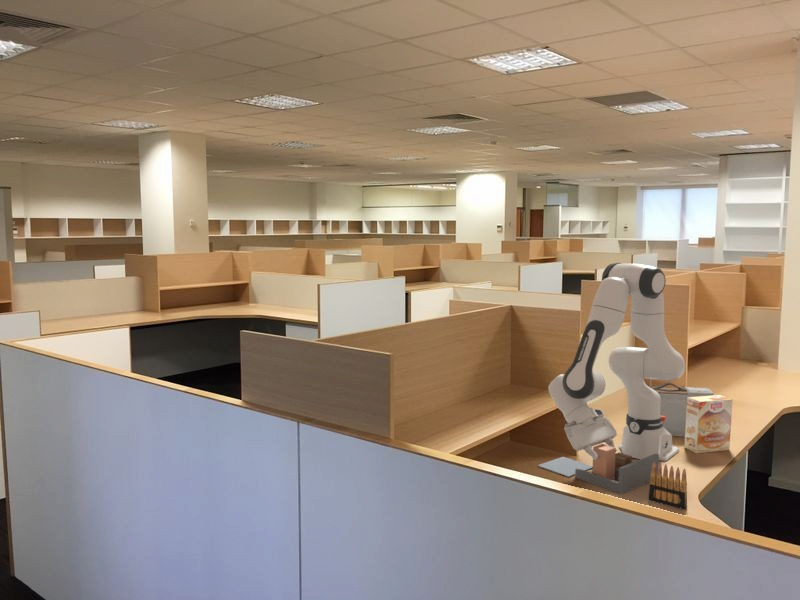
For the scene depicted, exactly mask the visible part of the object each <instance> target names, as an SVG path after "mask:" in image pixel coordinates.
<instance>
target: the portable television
mask: <svg viewBox="0 0 800 600" xmlns="http://www.w3.org/2000/svg"><path fill="white" fill-rule="evenodd" d="M649 380H650V381H649V383H650V384H649V387H650V388H652V389H654V390H655V391H656V392H657V393H658V394H659V395H660V397H661V411H660V416H661V415H662V416H666V418H667V419H666V421H665V422H664V421H662V424H663V427H664V428H665V429H666V430H667V431H668V432H669V433H670V434H671V435H672V437H674V436H675V437H685V430H686V412H687V397H699V396H712V395H714V392H713V391H712V390H711V389H710V388H709V387H696V386H693V387H692V386H691V387H690V386H684V385H682V387H681V386H678V385H676V384H674V383H673V382H671V381H670V382H669V381H666V382H664V383H663V384H661V385H657V386H656V385H655V386H652V379H649ZM667 386H673V387H667Z"/></svg>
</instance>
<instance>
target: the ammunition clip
mask: <svg viewBox="0 0 800 600" xmlns="http://www.w3.org/2000/svg"><path fill="white" fill-rule="evenodd" d="M668 470H669V471H668ZM686 470H687V469H686V468H683V470H682V472H681V470H680V468H679V466H677V468H676V470H675V472H674V467H673V465H671V466H670V469H668V464H665V465H664V466H663V471H662V464H661V463H660V462H659V465H658V471H657V477H656V465H655V462H653V464H652V471H651V478H650V483H649V489H648V499H647V500H648V501H649V500H650V502H653V501H654V503H657V502H658V503H657V504H661V503H662V505H666V506H669V507H673V508H675V509H676V508H677V509H680V508H681V509H680V510H683V509H684V510H683V511H685V510H686V509H687V508H688V491H687V489H688V487H687V486H688V483H687V471H686ZM662 472H663V473H662ZM668 473H669V474H668Z"/></svg>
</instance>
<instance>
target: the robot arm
mask: <svg viewBox="0 0 800 600" xmlns="http://www.w3.org/2000/svg"><path fill="white" fill-rule="evenodd" d="M666 280H667V279H666V275H665V273H664V272H663V270H662V269H661V268H659V267H657V266H653V265H646V264H641V263H629V262H628V263H625V262H624V263H621V262H615V263H610V264H608V265H607V266H606V267H605V269H604V270H603V272H602V275H601V282H600V284H599V285H598V288H597V291H596V293H595V296H594V298H593V300H592V305H591V309H590V311H589V316H588V320H587V322H586V325H585V329H584V331H583V333H582V336H581V338H580V342H579V344H578V347H577V351H576V353H575V356H574V358H573V361H572V364H571V365H570V367H569V368H568V369H567V370H566V371H565V373H561V374H558V375H557V376H555V377H554V378H553V379H552V380H551V381H550V383H549V385H548V387H547V388H548V393H549V395H550V398H551V399H552V400H553V402H554V404H555V405H556V408H558V410H560V411H561V412H562V414H563V417H564V419H565V421H566V422H567V423H566V424H564V428H563V430H564V431H565V434H566V437H567V439H568V441H569V443H570V444H571V446H572V448H573V450H575V451H577V452H579V451H580V452H581V451H582V450H584V452H585V453H586V454H588V455H589V456H591V458H592V460H593V459H594V460H596V459H598V458H600V455H599V454H598V453H597V452H595V451H594V450H593V447H595V446H598V445H601V444H604V443H605V445H608V446H611V447H615V442H614V438H615V437H616V436H617V435H618V434H617V429H616V428H615V427H614V426H613V423H611V421H610V419H608V417H606V416H605V412H604V411H603V410H602V409H599V408H593V407H590V406H589V405H588V402H590V401H592V400H595V399H597V398H598V397H600V396H601V395H602V394H603V393H604V392H605V389H606V381H605V378H604V377H603V375H602V374H601V372H597V371H595V370H594V365H595V363H596V359H597V357H598V353H599V351H600V349H601V345H602V344H603V343H604V342H605V341H606V340H607V339H609V338H610V337H612V336H614V335H616V334H617V333H619V331H620V329H621V327H622V326H623V323H624V320H625V316H626V313H627V308H628V304H629V303H628V302H629V298H630V297H631V302H630V331H631V333H632V335H633V336H634V337H636V338H637V339H639V340H641V341H642V342H644V343H645V345H646V346H647V347H638V346H637V347H635V346H622V347H621V346H620V347H615V348H614V349H613V350H612V351H611V352H610V354H609V357H608V366H609V368H610V370H611V371H612V372H613V374H615V375H616V376H617V378H618V379H619V380H621V383H622V384H623V385H624V388H625V390H626V393H627V413H626V417H625V421H626V422H625V423H626V425H625V426H624V427H623V432H622V439H621V444H619V445H618V448H619V449H620V450H621V453H623V454H626V455H630V456H632V459H636V460H637V459H638V460H640V459H643V458H645V457H648V456H650V455H653V454H659V461H662V462H663V461H668V460H669V459H671V458H672V457H673V456H674V455H676V454H677V453H678V452H680V449H679V447H678V446H675V445H673V436H672V435H671V434H670V433H669V432H668V431H667V430H666V429H665V428H664V427H663V424H662V421H664V422H665V421H666V419H667V418H666V416H662V415H661V416H660V411H661V397H660V395H659V394H658V393H657V392H656V391H655V390H654V389H652V388H650V386H648V385H647V384H646V382H645V379H647V380H650V379H651V380H655V381H656V380H657V381H673V380H675V381H676V380H679V379H680V378H681V377H682V376H683V374H684V372H685V370H686V362H685V359H684V357H683V355H682V354H681V353H680V352H679V351H677V350H676V349H675V348H674V347H673V346H672V345H671V343H670V342H669V340H668V338H667V336H666V331H665V300H664V299H665V298H664V288H665V286H666ZM617 451H618V449H617V448H616V452H617Z"/></svg>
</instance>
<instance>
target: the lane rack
mask: <svg viewBox="0 0 800 600" xmlns="http://www.w3.org/2000/svg"><path fill="white" fill-rule="evenodd" d="M653 462H655V465H656V477H657V471H658V465H659V463H660V460H659V454H653V455H650V456H648V457H645V458H643V459H638V460H635V461H633V460H632V463H630V464H627V465H625V466H622V467H620V468H619V469H617V468H615V479H617V480H618V481H616V480H615V481H614V480H611V479H608V478H605V477H602V476H599V475H596V474H593V472H590V471H588V470H587V471H584V470H581V469H578V468H576V469H575V475H574V478H575V479H577V480H581V481H584V482H587V483H589V484H592V485H594V486H595V485H596V486H597V487H600V488H604V489H607V490H609V491H613V492H614V493H617V494H621V495H622V494H624V493H627V492H629V491H631V490H634V489H636V488H638V487H640V486H643V485H645V484H648V483H649V482H650V478H651V471H652V464H653Z"/></svg>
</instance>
